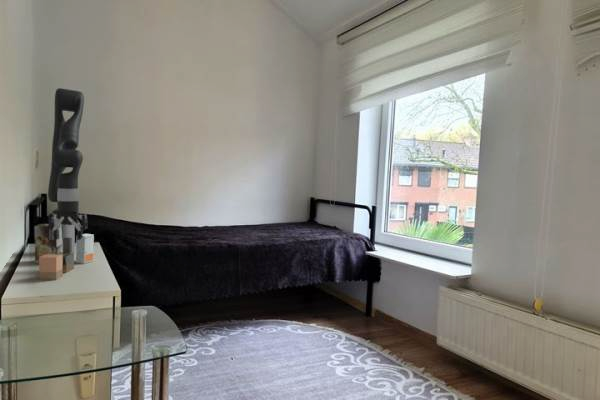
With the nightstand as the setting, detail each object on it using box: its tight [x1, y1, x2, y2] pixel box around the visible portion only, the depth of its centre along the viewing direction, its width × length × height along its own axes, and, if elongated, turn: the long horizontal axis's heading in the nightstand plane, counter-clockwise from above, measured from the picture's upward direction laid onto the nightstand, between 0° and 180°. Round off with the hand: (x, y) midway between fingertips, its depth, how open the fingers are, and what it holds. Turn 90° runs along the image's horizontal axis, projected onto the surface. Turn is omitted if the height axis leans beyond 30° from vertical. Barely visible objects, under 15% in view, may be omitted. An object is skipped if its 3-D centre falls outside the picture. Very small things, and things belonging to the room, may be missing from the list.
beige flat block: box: [60, 238, 73, 263], centre depth 172 cm, size 12×3×9 cm, turn 5°
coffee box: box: [33, 223, 63, 264], centre depth 185 cm, size 9×6×16 cm
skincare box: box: [75, 233, 95, 265], centre depth 188 cm, size 6×4×12 cm
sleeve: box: [57, 252, 75, 274], centre depth 173 cm, size 7×5×7 cm, turn 5°
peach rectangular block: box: [38, 254, 63, 281], centre depth 162 cm, size 5×6×8 cm
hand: (68, 239), depth 176 cm, fingers open, 8 cm apart
